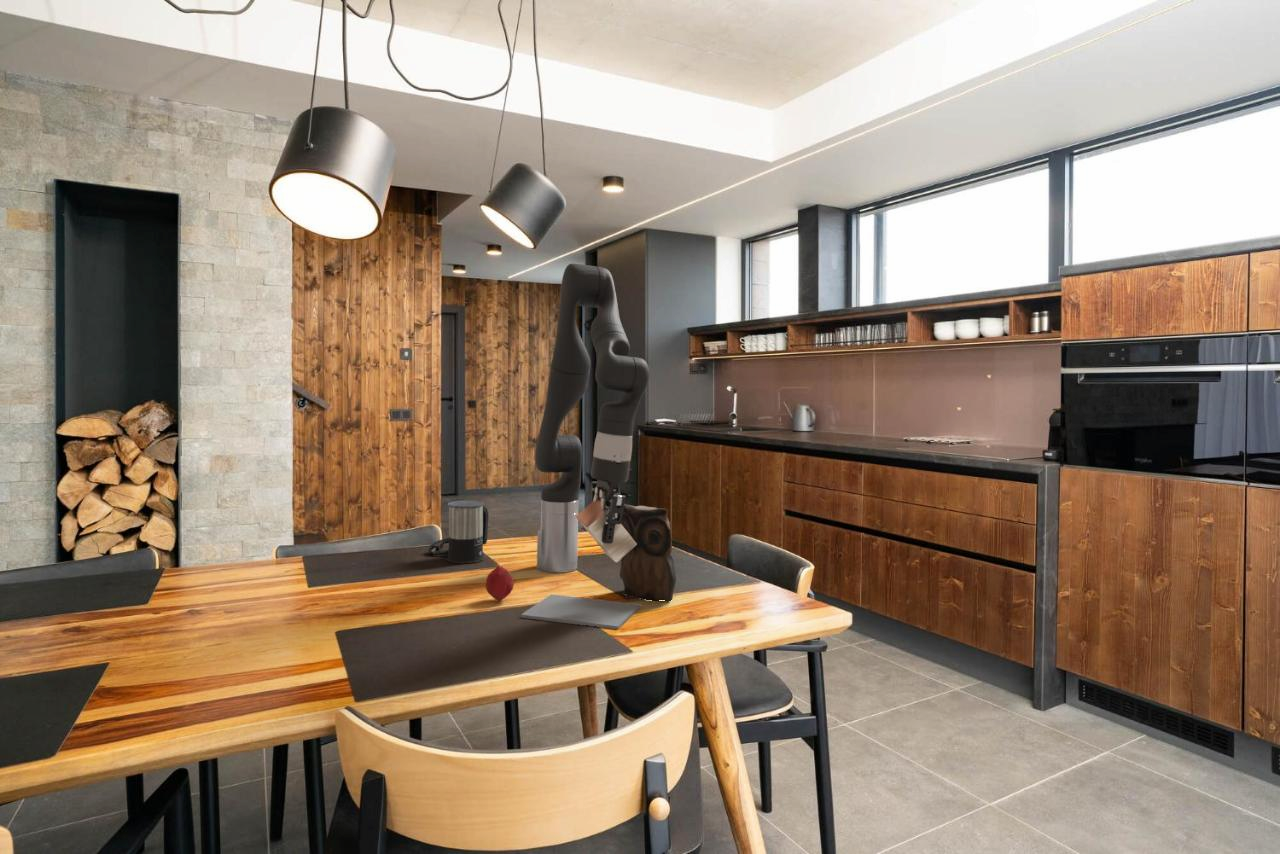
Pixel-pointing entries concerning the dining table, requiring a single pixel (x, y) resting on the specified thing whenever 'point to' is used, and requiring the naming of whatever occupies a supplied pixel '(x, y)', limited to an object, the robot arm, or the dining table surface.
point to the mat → (582, 611)
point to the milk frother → (464, 532)
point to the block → (594, 525)
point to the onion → (499, 583)
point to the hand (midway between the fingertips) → (601, 538)
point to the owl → (648, 554)
